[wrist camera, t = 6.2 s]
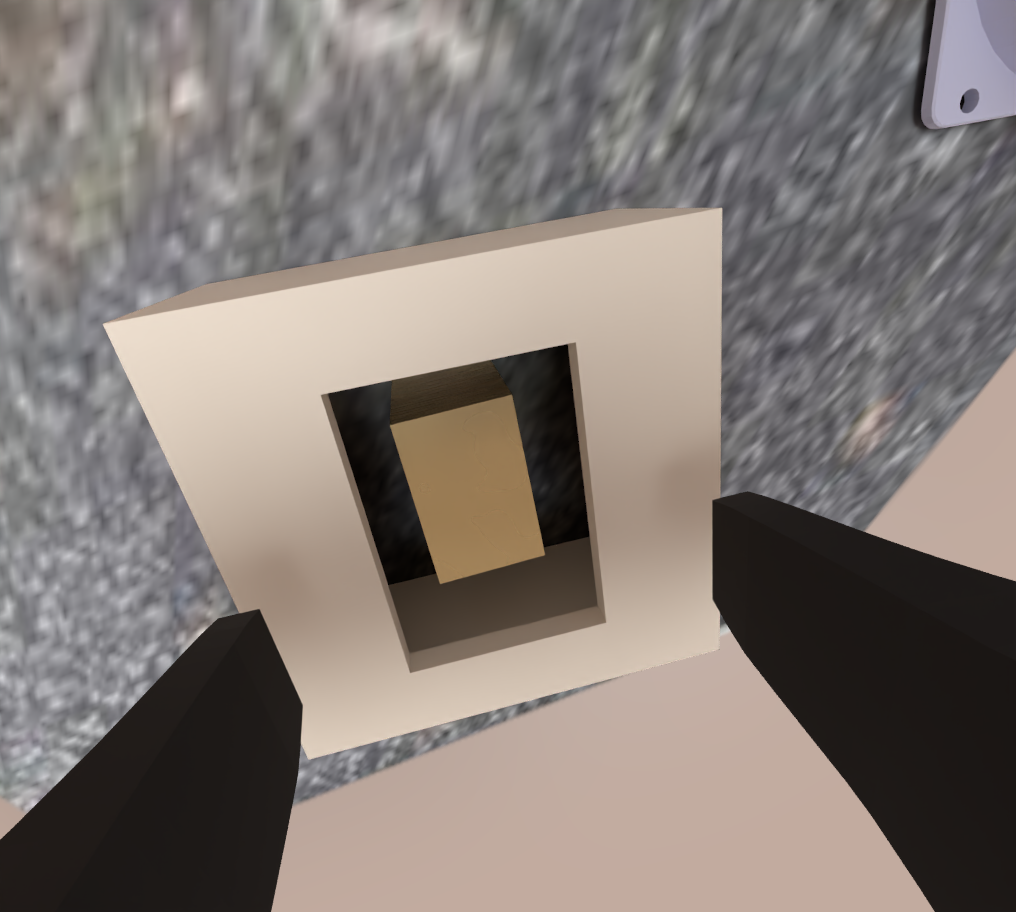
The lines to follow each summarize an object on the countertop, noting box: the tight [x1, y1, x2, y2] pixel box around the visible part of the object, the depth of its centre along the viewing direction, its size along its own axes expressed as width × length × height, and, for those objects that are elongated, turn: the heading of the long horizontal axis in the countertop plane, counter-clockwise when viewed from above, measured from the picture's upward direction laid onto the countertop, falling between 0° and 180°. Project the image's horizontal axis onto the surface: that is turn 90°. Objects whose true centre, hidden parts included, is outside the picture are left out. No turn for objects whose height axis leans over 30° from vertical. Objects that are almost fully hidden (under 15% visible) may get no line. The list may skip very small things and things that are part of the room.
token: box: [390, 360, 545, 584], centre depth 14 cm, size 2×4×4 cm, turn 12°
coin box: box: [103, 208, 722, 759], centre depth 13 cm, size 10×10×5 cm
